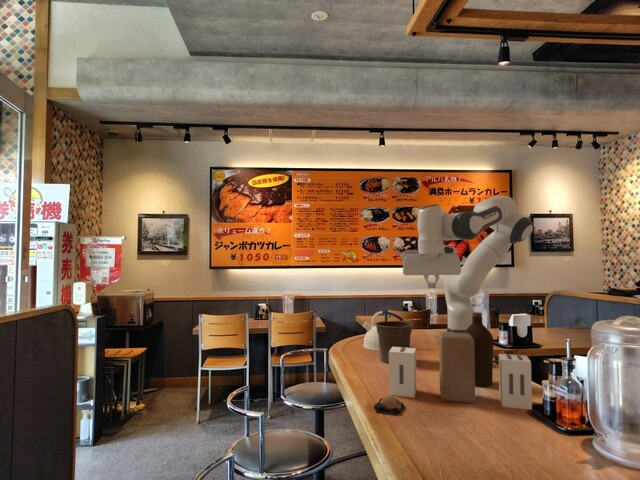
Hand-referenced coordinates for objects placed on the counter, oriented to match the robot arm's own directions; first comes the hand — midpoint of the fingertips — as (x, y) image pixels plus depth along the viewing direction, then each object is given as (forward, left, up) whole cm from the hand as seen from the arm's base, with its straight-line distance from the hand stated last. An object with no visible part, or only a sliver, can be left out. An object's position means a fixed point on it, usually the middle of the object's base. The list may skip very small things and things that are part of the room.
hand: (431, 288), depth 147 cm
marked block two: (-8, +27, -34) cm, 44 cm away
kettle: (-24, -58, -34) cm, 71 cm away
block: (+4, +14, -34) cm, 37 cm away
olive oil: (-15, +7, -34) cm, 38 cm away
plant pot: (-10, -33, -34) cm, 49 cm away
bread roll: (+29, +10, -35) cm, 46 cm away
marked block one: (+15, +1, -34) cm, 37 cm away
